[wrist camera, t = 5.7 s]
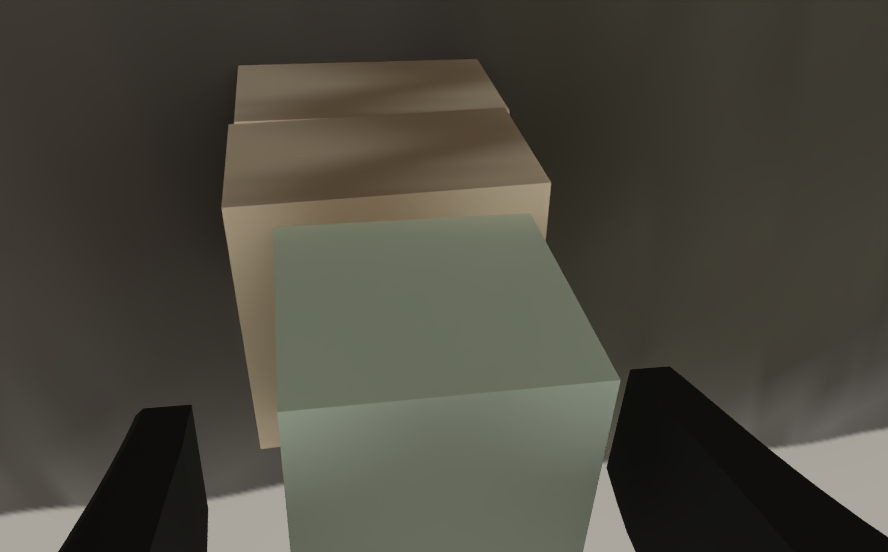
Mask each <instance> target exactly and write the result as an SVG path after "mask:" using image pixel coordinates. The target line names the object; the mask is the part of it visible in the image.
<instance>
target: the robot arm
mask: <svg viewBox="0 0 888 552" xmlns="http://www.w3.org/2000/svg"><path fill="white" fill-rule="evenodd" d="M607 470H608V474H609V477H610V481H611V484H612V487H613V491H614V493H615V497H616V500H617V504H618V507H619V510H620V513H621V516H622V519H623V522H624V524H625V528H626V531H627V533H628V535H629V538H630V540H631V542H632V544H633V547H634V549H635V551H636V552H888V537H887V536H885V535H884V534H882V533H881V532H879V531H878V530H876V529H875V528H874V527H872V526H871V525H869V524H868V523H866V522H865V521H863V520H862V519H861V518H859V517H858V516H856V515H855V514H854V513H852V512H851V511H850V510H848V509H847V508H845V507H844V506H843V505H841V504H840V503H838V502H837V501H836V500H834V499H833V498H832V497H830V496H829V495H828V494H826V493H825V492H824V491H822V490H821V489H819V488H818V487H817V486H815V485H814V484H813V483H812V482H810V481H809V480H808V479H806V478H805V477H804V476H803V475H801V474H800V473H799V472H797V471H796V470H794V469H793V468H792V467H791V466H790V465H788V464H787V463H786V462H785V461H783V460H782V459H781V458H780V457H778V456H777V455H776V454H774V453H773V452H772V451H771V450H770V449H768V448H767V447H766V446H765V445H764V444H762V443H761V442H760V441H759V440H757V439H756V438H755V437H754V436H753V435H751V434H750V433H749V432H748V431H747V430H745V429H744V428H743V427H742V426H741V425H739V424H738V423H737V422H736V421H735V420H733V419H732V418H731V417H730V416H729V415H727V414H726V413H725V412H724V411H723V410H721V409H720V408H719V407H718V406H717V405H716V404H714V403H713V402H712V401H711V400H710V399H708V398H707V397H706V396H705V395H704V394H703V393H701V392H700V391H699V390H698V389H697V388H695V387H694V386H693V385H692V384H691V383H689V382H688V381H687V380H686V379H684V378H683V377H682V376H681V375H680V374H678V373H677V372H676V371H674V370H673V369H672V368H671V367H657V368H645V369H632V370H630V373H629V377H628V381H627V385H626V390H625V394H624V398H623V402H622V406H621V410H620V415H619V419H618V423H617V427H616V431H615V435H614V439H613V444H612V448H611V452H610V456H609V460H608V464H607ZM207 532H208V505H207V499H206V493H205V486H204V480H203V474H202V468H201V461H200V455H199V449H198V443H197V436H196V430H195V424H194V418H193V411H192V405H182V406H170V407H157V408H145V409H142V410H141V411H140V412H139V413H138V414H137V415H136V416H135V418H134V420H133V422H132V425H131V427H130V429H129V431H128V433H127V435H126V437H125V439H124V441H123V443H122V445H121V447H120V449H119V451H118V452H117V454H116V456H115V458H114V460H113V462H112V464H111V465H110V467H109V469H108V471H107V473H106V474H105V476H104V478H103V480H102V481H101V483H100V485H99V487H98V488H97V490H96V492H95V494H94V495H93V497H92V499H91V500H90V502H89V503H88V505H87V507H86V508H85V510H84V511H83V513H82V515H81V516H80V518H79V520H78V521H77V523H76V524H75V526H74V528H73V529H72V531H71V532H70V534H69V536H68V537H67V539H66V541H65V542H64V544H63V545H62V547H61V548H60V550H59V551H58V552H207Z"/></svg>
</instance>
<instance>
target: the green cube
mask: <svg viewBox="0 0 888 552" xmlns="http://www.w3.org/2000/svg"><path fill="white" fill-rule="evenodd" d="M273 239H274V286H275V333H276V381H277V416H278V426H279V436H280V446H281V457H282V467H283V477H284V488H285V498H286V508H287V518H288V528H289V539H290V549H291V552H583V548H584V544H585V539H586V535H587V530H588V526H589V521H590V517H591V512H592V507H593V502H594V498H595V494H596V489H597V484H598V480H599V475H600V471H601V467H602V462H603V457H604V453H605V448H606V444H607V439H608V435H609V430H610V426H611V421H612V416H613V412H614V407H615V403H616V398H617V394H618V389H619V385H620V378H619V376H618V375H617V373H616V371H615V369H614V367H613V365H612V363H611V362H610V360H609V358H608V356H607V354H606V352H605V350H604V349H603V347H602V345H601V343H600V341H599V339H598V337H597V336H596V334H595V332H594V330H593V328H592V326H591V325H590V323H589V321H588V319H587V317H586V315H585V313H584V312H583V310H582V308H581V306H580V304H579V302H578V300H577V299H576V297H575V295H574V293H573V291H572V289H571V287H570V286H569V284H568V282H567V280H566V278H565V276H564V275H563V273H562V271H561V269H560V267H559V265H558V263H557V262H556V260H555V258H554V256H553V254H552V252H551V250H550V249H549V247H548V245H547V243H546V241H545V239H544V237H543V236H542V234H541V232H540V230H539V228H538V226H537V225H536V223H535V221H534V219H533V217H532V215H531V213H523V214H504V215H486V216H467V217H449V218H431V219H412V220H394V221H375V222H357V223H339V224H320V225H302V226H284V227H273Z"/></svg>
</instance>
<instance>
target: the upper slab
mask: <svg viewBox="0 0 888 552" xmlns="http://www.w3.org/2000/svg"><path fill="white" fill-rule="evenodd" d="M550 191H551V181H550V180H549V178H548V176H547V175H546V173H545V172H544V170H543V168H542V167H541V165H540V164H539V162H538V160H537V159H536V157H535V155H534V154H533V152H532V151H531V149H530V147H529V146H528V144H527V143H526V141H525V139H524V138H523V136H522V134H521V133H520V131H519V130H518V128H517V126H516V125H515V123H514V121H513V120H512V118H511V117H510V115H509V113H508V112H507V110H506V109H505V107H503V108H487V109H471V110H454V111H438V112H422V113H405V114H389V115H373V116H356V117H340V118H324V119H308V120H291V121H275V122H258V123H242V124H229V125H228V136H227V148H226V160H225V172H224V183H223V195H222V207H221V208H222V215H223V221H224V227H225V233H226V239H227V245H228V251H229V257H230V264H231V270H232V276H233V282H234V288H235V294H236V300H237V306H238V312H239V319H240V325H241V331H242V337H243V343H244V349H245V355H246V361H247V367H248V374H249V380H250V386H251V392H252V398H253V404H254V410H255V416H256V422H257V429H258V435H259V441H260V447H261V449H266V448H274V447H281V446H280V436H279V426H278V416H277V381H276V333H275V286H274V239H273V227H284V226H302V225H320V224H339V223H357V222H375V221H394V220H412V219H431V218H449V217H467V216H486V215H504V214H523V213H531V215H532V217H533V219H534V221H535V223H536V225H537V226H538V228H539V230H540V232H541V234H542V236H543V237H544V239H545V241H546V232H547V221H548V211H549V201H550Z"/></svg>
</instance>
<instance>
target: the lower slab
mask: <svg viewBox="0 0 888 552" xmlns="http://www.w3.org/2000/svg"><path fill="white" fill-rule="evenodd" d="M503 107H505V109H506V110H507V112H508V113H509V114H510V111H509V109H508V107H507V106H506V104H505V103H504V101H503V99H502V98H501V96H500V95H499V93H498V91H497V90H496V88H495V87H494V85H493V83H492V82H491V80H490V79H489V77H488V75H487V74H486V72H485V71H484V69H483V67H482V66H481V64H480V63H479V61H478V59H456V60H419V61H383V62H347V63H310V64H274V65H238V75H237V88H236V102H235V115H234V124H242V123H258V122H275V121H291V120H308V119H324V118H340V117H356V116H373V115H389V114H405V113H422V112H438V111H454V110H471V109H487V108H503Z"/></svg>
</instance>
